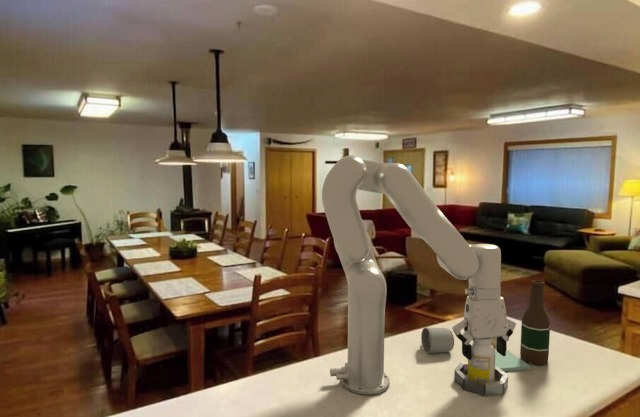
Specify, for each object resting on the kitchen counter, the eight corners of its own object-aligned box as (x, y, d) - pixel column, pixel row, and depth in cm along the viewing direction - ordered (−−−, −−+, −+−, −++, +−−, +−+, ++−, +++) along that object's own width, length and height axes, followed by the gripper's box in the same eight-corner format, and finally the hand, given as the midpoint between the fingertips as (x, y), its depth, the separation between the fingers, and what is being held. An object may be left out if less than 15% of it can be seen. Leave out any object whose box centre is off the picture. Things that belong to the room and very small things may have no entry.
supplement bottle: (479, 375, 113) (481, 329, 112) (499, 386, 107) (501, 338, 106) (461, 380, 110) (463, 334, 109) (481, 392, 104) (483, 343, 103)
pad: (497, 372, 115) (497, 368, 115) (478, 356, 125) (478, 353, 125) (529, 369, 116) (530, 366, 116) (508, 354, 126) (508, 350, 126)
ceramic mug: (455, 355, 125) (456, 330, 125) (430, 357, 124) (431, 332, 123) (439, 342, 136) (440, 319, 135) (416, 343, 134) (416, 320, 134)
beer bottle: (552, 367, 118) (557, 285, 115) (523, 365, 119) (527, 283, 117) (543, 355, 125) (547, 278, 123) (516, 353, 127) (519, 277, 125)
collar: (470, 398, 102) (471, 386, 101) (447, 373, 114) (448, 363, 114) (516, 393, 104) (517, 382, 103) (489, 370, 116) (489, 360, 115)
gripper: (460, 298, 101) (460, 365, 103) (524, 293, 104) (523, 358, 106) (446, 290, 109) (446, 352, 110) (506, 285, 112) (505, 346, 113)
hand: (484, 355), depth 108 cm, fingers open, 9 cm apart
